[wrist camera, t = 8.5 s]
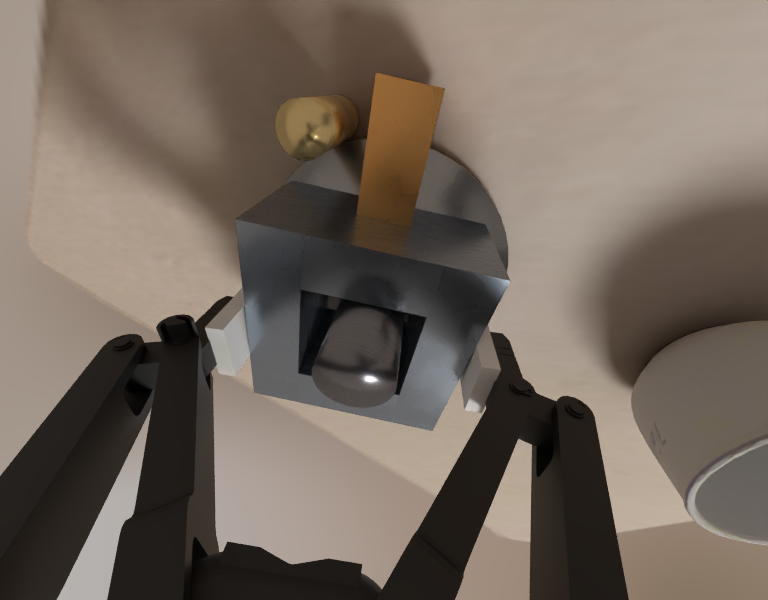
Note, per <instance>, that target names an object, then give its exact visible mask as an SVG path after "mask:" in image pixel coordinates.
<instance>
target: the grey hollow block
mask: <svg viewBox="0 0 768 600" xmlns="http://www.w3.org/2000/svg"><path fill="white" fill-rule="evenodd" d="M444 90H445V89H444V88H440V87H436V86H431V85H427V84H423V83H419V82H414V81H410V80H406V79H401V78H397V77H393V76H389V75H384V74H380V73H376V76H375V83H374V90H373V98H372V105H371V112H370V120H369V127H368V134H367V141H366V149H365V156H364V163H363V171H362V178H361V185H360V192H359V195H355V194H351V193H346V192H342V191H337V190H333V189H329V188H324V187H320V186H315V185H311V184H307V183H302V182H298V181H293V180H291V181H290V182H288V183H287V184H285V185H284V186H283V187H281V188H280V189H278V190H277V191H275V192H274V193H272V194H271V195H270V196H268V197H267V198H265V199H264V200H262V201H261V202H259V203H258V204H256V205H255V206H254V207H252V208H251V209H249V210H248V211H246V212H245V213H243V214H242V215H241V216H239V217H238V218H236V219H235V222H236V231H237V240H238V249H239V258H240V268H241V277H242V286H243V295H244V304H245V313H246V322H247V331H248V341H249V350H250V359H251V368H252V377H253V386H254V392H255V393H259V394H263V395H268V396H273V397H277V398H282V399H287V400H291V401H296V402H301V403H305V404H310V405H314V406H319V407H324V408H328V409H333V410H338V411H342V412H347V413H352V414H356V415H361V416H366V417H370V418H375V419H380V420H384V421H389V422H393V423H398V424H403V425H407V426H412V427H417V428H421V429H426V430H431V431H433V429H434V427H435V425H436V423H437V421H438V419H439V417H440V415H441V413H442V411H443V409H444V408H445V406H446V404H447V402H448V400H449V398H450V396H451V394H452V392H453V390H454V388H455V386H456V384H457V382H458V381H459V379H460V377H461V375H462V373H463V371H464V369H465V367H466V365H467V363H468V361H469V359H470V357H471V355H472V354H473V352H474V350H475V348H476V346H477V344H478V342H479V340H480V338H481V336H482V334H483V332H484V330H485V328H486V327H487V325H488V323H489V321H490V319H491V317H492V315H493V313H494V311H495V309H496V307H497V305H498V303H499V301H500V300H501V298H502V296H503V294H504V292H505V290H506V288H507V286H508V284H509V282H510V279H509V277H508V275H507V272H506V270H505V268H504V265H503V263H502V261H501V258H500V256H499V254H498V252H497V249H496V247H495V245H494V242H493V240H492V238H491V235H490V233H489V231H488V228H487V226H486V224H483V223H478V222H474V221H470V220H465V219H461V218H456V217H452V216H448V215H443V214H439V213H434V212H430V211H426V210H421V209H417V208H415V205H416V201H417V198H418V194H419V190H420V186H421V182H422V178H423V174H424V170H425V166H426V162H427V158H428V154H429V150H430V146H431V142H432V138H433V134H434V130H435V126H436V122H437V118H438V114H439V110H440V106H441V102H442V98H443V94H444ZM328 296H333V297H338V298H342V299H347V300H351V301H356V302H361V303H365V304H370V305H374V306H379V307H383V308H388V309H392V310H397V311H401V312H406V313H409V315H408V319H407V322H406V325H403V334H402V343H401V352H400V361H399V370H398V379H397V388H396V392H395V393H394V395H393V396H392V398H391V399H390V400H388V401H387V402H385V403H383V404H381V405H378V406H375V407H369V408H357V407H350V406H346V405H343V404H340V403H337V402H335V401H333V400H331V399H330V398H328V397H327V396H325V395H324V394H323V393H322V392H321V391H320V390H319V389H318V388H317V387H316V385H315V383H314V381H313V378H312V368H313V365H314V362H315V360H316V358H317V355H318V353H319V351H320V348H321V346H322V343H323V341H324V339H325V336H326V334H327V331H328V329H329V327H330V324H331V322H332V319H333V317H334V315H335V312H336V310H334V309H329V308H327V306H328Z"/></svg>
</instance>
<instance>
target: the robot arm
mask: <svg viewBox="0 0 768 600" xmlns="http://www.w3.org/2000/svg"><path fill="white" fill-rule="evenodd" d="M156 329H157V331H158V333H159V336H160V338H161V340H162V341H161V342H149V343H144V341H143V339H142V337H141V336H139V335H137V334H127V335H122V336H119V337H116V338H114V339H112V340H110V341H109V342H107V343H106V345H104V346H103V347H102V349H101V350H100V351H99V352H98V354H97V355H96V356H95V358H94V359H93V360H92V361H91V363H90V364H89V365H88V366H87V367H86V369H85V370H84V371H83V373H82V374H81V375H80V376H79V378H78V379H77V380H76V381H75V383H74V384H73V385H72V386H71V388H70V389H69V390H68V391H67V393H66V394H65V395H64V397H63V398H62V399H61V400H60V402H59V403H58V404H57V405H56V407H55V408H54V409H53V410H52V412H51V413H50V414H49V415H48V417H47V418H46V419H45V421H44V422H43V423H42V424H41V425H40V427H39V428H38V429H37V430H36V432H35V433H34V434H33V435H32V437H31V438H30V439H29V441H28V442H27V443H26V444H25V446H24V447H23V448H22V449H21V451H20V452H19V453H18V454H17V456H16V457H15V458H14V460H13V461H12V462H11V463H10V465H9V466H8V467H7V468H6V470H5V471H4V472H3V473H2V475H1V476H0V600H57V598H58V596H59V594H60V592H61V590H62V588H63V586H64V584H65V582H66V580H67V578H68V576H69V574H70V572H71V570H72V568H73V566H74V564H75V562H76V560H77V558H78V556H79V554H80V551H81V550H82V548H83V546H84V544H85V542H86V540H87V538H88V536H89V534H90V531H91V529H92V527H93V525H94V523H95V521H96V519H97V517H98V515H99V513H100V511H101V509H102V507H103V505H104V503H105V501H106V499H107V497H108V495H109V493H110V491H111V489H112V487H113V485H114V483H115V481H116V478H117V476H118V475H119V473H120V470H121V468H122V466H123V464H124V462H125V460H126V458H127V456H128V454H129V452H130V450H131V448H132V446H133V444H134V442H135V440H136V438H137V436H138V434H139V432H140V430H141V428H142V426H143V424H144V422H145V420H146V418H147V416H148V414H149V412H150V409H151V408H152V409H151V415H150V421H149V427H148V434H147V440H146V445H145V452H144V457H143V463H142V469H141V476H140V481H139V487H138V493H137V499H136V505H135V510H134V514H133V515H132V517H131V518H129V519H128V520H126V521H125V523H124V524H123V526H122V529H121V532H120V536H119V542H118V546H117V552H116V557H115V563H114V568H113V573H112V578H111V583H110V588H109V594H108V599H107V600H455V598H456V596H457V593H458V590H459V588H460V585H461V582H462V579H463V574H464V570H465V567H466V565H467V562H468V560H469V557H470V555H471V552H472V550H473V547H474V545H475V542H476V540H477V538H478V535H479V533H480V530H481V528H482V526H483V523H484V521H485V518H486V516H487V513H488V511H489V508H490V506H491V504H492V501H493V499H494V496H495V494H496V491H497V489H498V487H499V484H500V482H501V479H502V477H503V474H504V472H505V470H506V467H507V465H508V462H509V460H510V457H511V455H512V453H513V450H514V448H515V445H516V443H517V440H518V439H520V440H523V441H525V442H527V443H529V444H532V482H531V543H530V600H629V599H628V594H627V588H626V583H625V577H624V572H623V567H622V562H621V556H620V551H619V545H618V540H617V535H616V529H615V524H614V519H613V513H612V508H611V503H610V497H609V492H608V486H607V481H606V476H605V470H604V465H603V460H602V454H601V449H600V444H599V438H598V433H597V428H596V422H595V417H594V415H593V412H592V411H591V409H590V408H589V407H588V406H587V405H586V404H584V403H583V402H582V401H580V400H578V399H576V398H574V397H570V396H562V397H560V398H559V399H558V400H557V401H554V400H551V399H549V398H546V397H544V396H541V395H539V394H537V393H536V392H535V390H534V388H533V386H532V385H531V384H530V383H529V382H528V381H526V380H525V379H523V377H522V374H521V372H520V369H519V366H518V363H517V361H516V358H515V357H514V352H513V350H512V347H511V344H510V341H509V340H508V339H507V338H506V337H505V336H504V334H502V333H494V332H490V331H489V327H488V325H487V327H486V328H485V330H484V332H483V334H482V336H481V338H480V340H479V342H478V344H477V346H476V348H475V350H474V352H473V354H472V355H471V357H470V359H469V361H468V363H467V365H466V367H465V369H464V371H463V373H462V375H461V377H460V380H461V387H462V395H463V402H464V409H465V410H467V411H473V412H480V413H482V411H483V409H484V407H485V405H486V410H485V412H484V414H483V416H482V417H481V419H480V421H479V423H478V425H477V426H476V428H475V430H474V432H473V433H472V435H471V437H470V439H469V440H468V442H467V444H466V446H465V447H464V449H463V451H462V453H461V455H460V456H459V458H458V460H457V462H456V463H455V465H454V467H453V469H452V470H451V472H450V474H449V476H448V478H447V479H446V481H445V483H444V485H443V486H442V488H441V490H440V492H439V493H438V495H437V497H436V499H435V500H434V502H433V504H432V506H431V508H430V509H429V511H428V513H427V515H426V516H425V518H424V520H423V522H422V523H421V525H420V527H419V528H418V530H417V531H416V533H415V534H414V535H413V537H412V539H411V540H410V542H409V544H408V545H407V547H406V549H405V551H404V552H403V554H402V556H401V558H400V559H399V561H398V563H397V565H396V567H395V568H394V570H393V572H392V573H391V575H390V577H389V579H388V581H387V582H386V584H385V586H384V587H383V589H381V588H380V587H379V586H378V585H377V584H376V583H375V582H374V581H373V580H372V579H370V578H369V577H367V576H366V575H364V574H362V573H361V569H362V564H357V563H352V562H346V561H339V560H334V559H324V560H318V561H312V562H306V563H300V564H289V563H287V562H285V561H283V560H281V559H280V558H278V557H276V556H274V555H273V554H271V553H269V552H267V551H266V550H264V549H262V548H260V547H255V546H250V545H244V544H238V543H232V542H227V544H226V546H225V549H224V551H223V552H219V547H218V542H217V537H216V530H215V529H216V528H215V479H214V478H215V475H214V423H213V422H214V421H213V420H214V419H213V377H212V374H211V371H212V370H213V369H214V367H215V366H216V365H217V369H218V372H219V374H224V375H230V376H236V375H237V373H238V372H239V370H240V369H241V367H242V366H243V364H244V363H245V361H246V360H247V358H248V357H249V355H250V350H249V341H248V331H247V322H246V313H245V304H244V295H243V288H242V289H241V290H240V291H239V292H238V293H237V294H236V295H235V296H234V297H230V296H226V297H224V298H222V299H220V300H218V301H217V302H216V303H215V304H214V305H213V306H212V307H211V309H209V310H208V311H207V312H206V314H204V315H202V316H201V317H200V318H199V319H198V320H197V321H196V322H194V319H193V318H192V317H191V316H189V315H175V316H171V317H168V318H166V319H164V320H162V321H161V322H160V323H159V324H158V325H157V327H156Z"/></svg>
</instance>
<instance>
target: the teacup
mask: <svg viewBox="0 0 768 600" xmlns="http://www.w3.org/2000/svg"><path fill="white" fill-rule="evenodd" d="M631 404H632V411H633V415H634V418H635V421H636V423H637V426H638V428H639V430H640V432H641V434H642V435H643V437H644V439H645V441H646V443H647V444H648V446H649V448H650V449H651V451H652V453H653V454H654V456H655V458H656V459H657V461H658V462H659V464H660V465H661V467H662V468H663V470H664V471H665V473H666V474H667V476H668V478H669V479H670V481H671V482H672V484H673V485H674V487H675V488H676V490H677V491H678V493H679V494H680V496H681V497H682V499H683V502H684V506H685V508H686V510H687V512H688V513H689V515H690V516H691V517H692V518H693V520H694V521H696V522H697V523H698V524H699V525H700V526H701V527H703V528H705V529H706V530H708V531H711V532H713V533H715V534H717V535H720V536H723V537H726V538H730V539H733V540H737V541H744V542H748V543H753V544H761V545H768V320H765V321H748V322H740V323H734V324H728V325H724V326H717V327H712V328H707V329H704V330H700V331H697V332H694V333H691V334H689V335H686V336H684V337H682V338H680V339H678V340H676V341H674V342H672V343H671V344H669V345H667V346H666V347H665V348H663V349H662V350H661V351H660V352H658V353H657V354H656V355H655V356H654V357H653V358H652V359H651V361H650V362H649V363H648V364H647V366H646V367H645V369H644V370H643V371H642V372H641V374H640V375H639V377H638V379H637V381H636V383H635V385H634V388H633V392H632V398H631Z"/></svg>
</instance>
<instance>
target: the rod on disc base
mask: <svg viewBox="0 0 768 600" xmlns="http://www.w3.org/2000/svg"><path fill="white" fill-rule="evenodd" d="M366 141H367V138H364V139H357V140H353V141H349V142H345V143H341V144H339V145H337V146H336V147H334V148H332V149H331V150H329V151H328V152H326V153H324V154H323V155H321V156H320V157H318V158H316V159H314V160H311V161H306V162H305V163H304V164H303V165H302V166H300V167H299V168H298V169H297V170H296V171H295V172H294V173H293V174H292V175H291V176H290V177H289V178H288V180H287V181H286V182H285V183H284V184H283V186H284V185H285V184H287V183H288V182H290V181H291V180H293V181H298V182H302V183H307V184H311V185H315V186H320V187H324V188H329V189H333V190H337V191H342V192H346V193H351V194H355V195H359V192H360V185H361V178H362V171H363V163H364V156H365V149H366ZM283 186H282V187H283ZM415 208H417V209H421V210H426V211H430V212H434V213H439V214H443V215H448V216H452V217H456V218H461V219H465V220H470V221H474V222H478V223H483V224H486V226H487V228H488V231H489V233H490V235H491V238H492V240H493V242H494V245H495V247H496V249H497V252H498V254H499V256H500V258H501V261H502V263H503V265H504V268H505V270H506V272H507V267H508V245H507V238H506V232H505V229H504V226H503V223H502V220H501V217H500V215H499V213H498V211H497V209H496V207H495V205H494V203H493V201H492V199H491V197H490V196H489V194H488V193H487V192H486V190H485V189H484V187H483V186H482V185H481V183H480V182H479V181H478V180H477V179H476V178H475V177H474V176H473V175H472V174H471V173H470V172H469V171H468V170H467V169H466V168H464V167H463V166H462V165H460V164H459V163H458V162H457V161H455V160H454V159H453V158H451V157H449V156H447V155H445V154H443V153H442V152H440V151H438V150H436V149H434V148H431V147H430V150H429V154H428V158H427V162H426V166H425V170H424V174H423V178H422V182H421V186H420V190H419V194H418V198H417V201H416V205H415ZM327 308H329V309H334V310H336V312H335V315H334V317H333V319H332V322H331V324H330V327H329V329H328V331H327V334H326V336H325V339H324V341H323V343H322V346H321V348H320V351H319V353H318V355H317V358H316V360H315V362H314V365H313V368H312V378H313V381H314V383H315V385H316V387H317V388H318V389H319V390H320V391H321V392H322V393H323V394H324V395H325V396H327V397H328V398H330V399H331V400H333V401H335V402H337V403H340V404H343V405H346V406H350V407H357V408H369V407H375V406H378V405H381V404H383V403H385V402H387V401H388V400H390V399H391V398H392V396H393V395H394V393H395V392H396V388H397V379H398V370H399V361H400V352H401V343H402V334H403V325H406V322H407V319H408V315H409V313H406V312H401V311H397V310H392V309H388V308H383V307H379V306H374V305H370V304H365V303H361V302H356V301H351V300H347V299H342V298H338V297H333V296H328V306H327Z"/></svg>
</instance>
